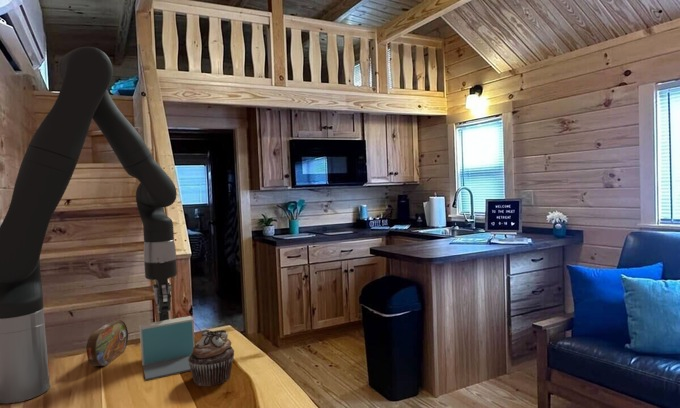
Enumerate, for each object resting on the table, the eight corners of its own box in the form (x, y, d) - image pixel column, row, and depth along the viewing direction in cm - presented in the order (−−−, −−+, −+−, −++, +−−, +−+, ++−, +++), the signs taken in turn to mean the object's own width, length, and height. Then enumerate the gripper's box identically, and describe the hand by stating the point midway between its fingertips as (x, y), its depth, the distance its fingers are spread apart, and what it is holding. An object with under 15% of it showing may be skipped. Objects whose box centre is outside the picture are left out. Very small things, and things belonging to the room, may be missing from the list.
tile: (142, 366, 106) (140, 328, 106) (141, 360, 110) (139, 324, 109) (195, 355, 112) (193, 319, 111) (193, 350, 115) (191, 315, 114)
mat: (145, 380, 98) (145, 378, 98) (142, 366, 106) (142, 365, 106) (202, 368, 104) (202, 366, 104) (195, 355, 111) (195, 354, 111)
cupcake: (193, 370, 103) (191, 327, 102) (237, 366, 104) (235, 324, 103) (184, 390, 93) (181, 342, 93) (232, 385, 94) (230, 338, 94)
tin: (98, 372, 104) (96, 336, 103) (85, 372, 104) (82, 336, 103) (130, 347, 119) (128, 316, 118) (118, 347, 119) (116, 316, 118)
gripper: (142, 256, 118) (146, 321, 119) (146, 264, 106) (151, 336, 107) (172, 253, 121) (176, 316, 122) (179, 260, 110) (184, 330, 111)
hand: (164, 325), depth 115 cm, fingers closed
